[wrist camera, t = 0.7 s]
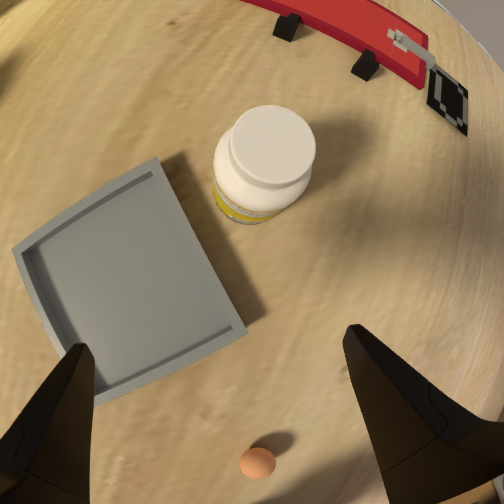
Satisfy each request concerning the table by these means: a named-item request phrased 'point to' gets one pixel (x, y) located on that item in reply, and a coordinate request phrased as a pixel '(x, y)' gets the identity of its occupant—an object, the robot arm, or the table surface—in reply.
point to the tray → (127, 283)
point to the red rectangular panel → (376, 46)
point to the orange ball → (257, 463)
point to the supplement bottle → (262, 164)
